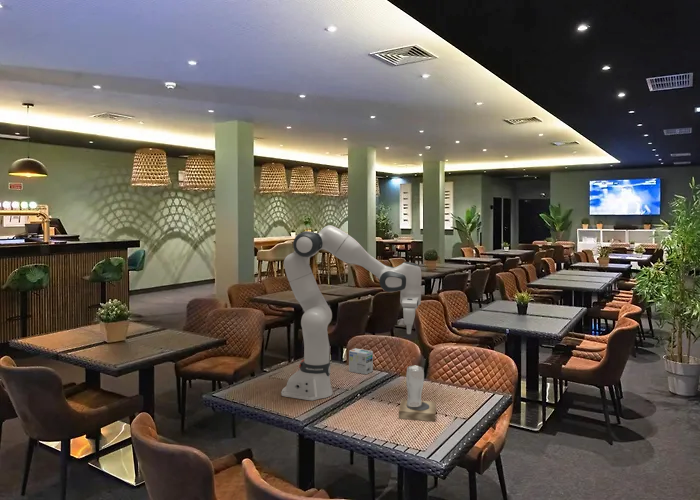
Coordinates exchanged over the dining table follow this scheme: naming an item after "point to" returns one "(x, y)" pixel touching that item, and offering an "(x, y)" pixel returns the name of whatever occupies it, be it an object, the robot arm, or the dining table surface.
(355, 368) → the light bulb box
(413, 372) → the beer glass
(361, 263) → the robot arm
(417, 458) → the dining table surface
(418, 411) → the brass stand
